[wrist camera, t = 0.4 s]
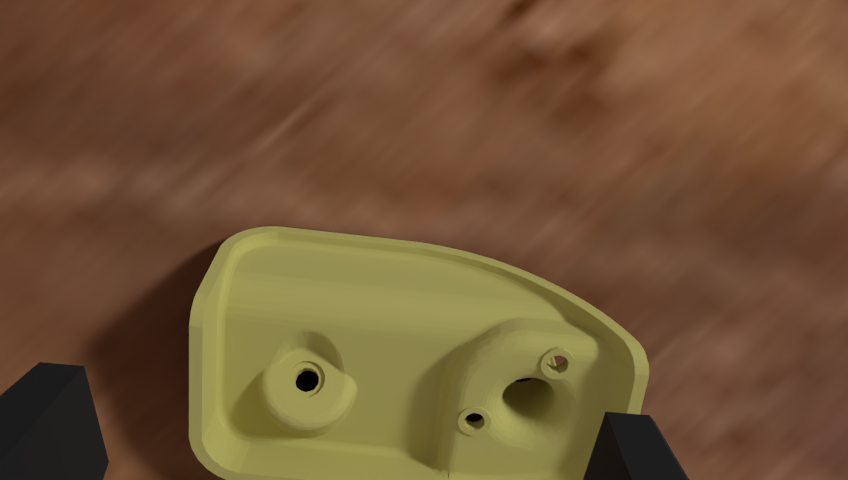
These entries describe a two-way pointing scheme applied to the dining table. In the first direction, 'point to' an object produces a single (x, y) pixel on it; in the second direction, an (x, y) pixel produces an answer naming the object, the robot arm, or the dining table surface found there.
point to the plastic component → (396, 364)
